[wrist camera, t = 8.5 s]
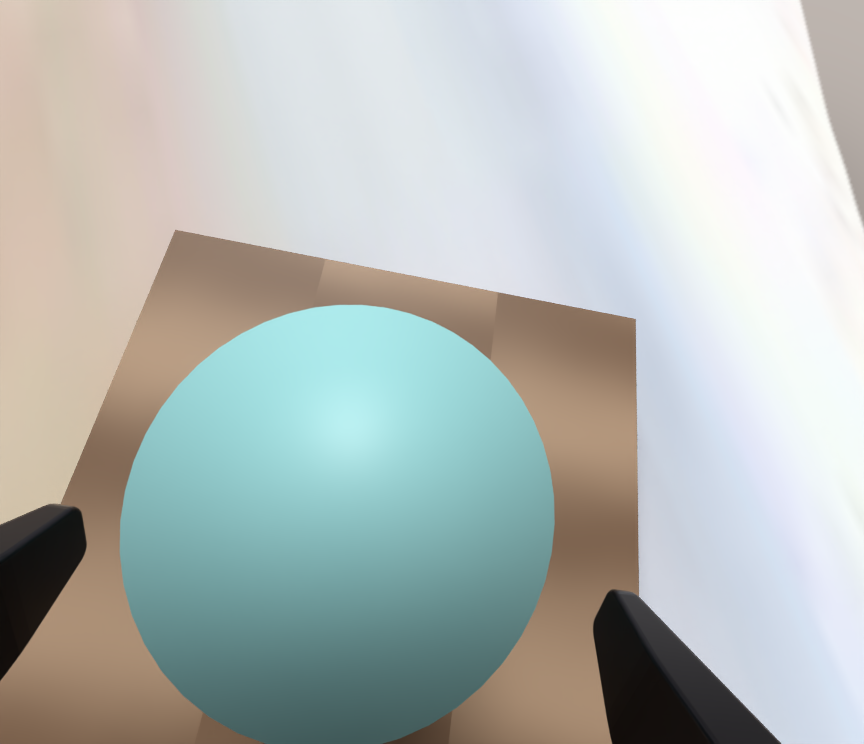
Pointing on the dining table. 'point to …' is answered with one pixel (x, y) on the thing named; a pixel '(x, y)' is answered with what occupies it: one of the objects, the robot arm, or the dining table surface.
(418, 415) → the peg
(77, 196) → the dining table surface
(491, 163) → the dining table surface
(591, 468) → the socket
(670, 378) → the dining table surface
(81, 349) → the dining table surface
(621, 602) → the robot arm
